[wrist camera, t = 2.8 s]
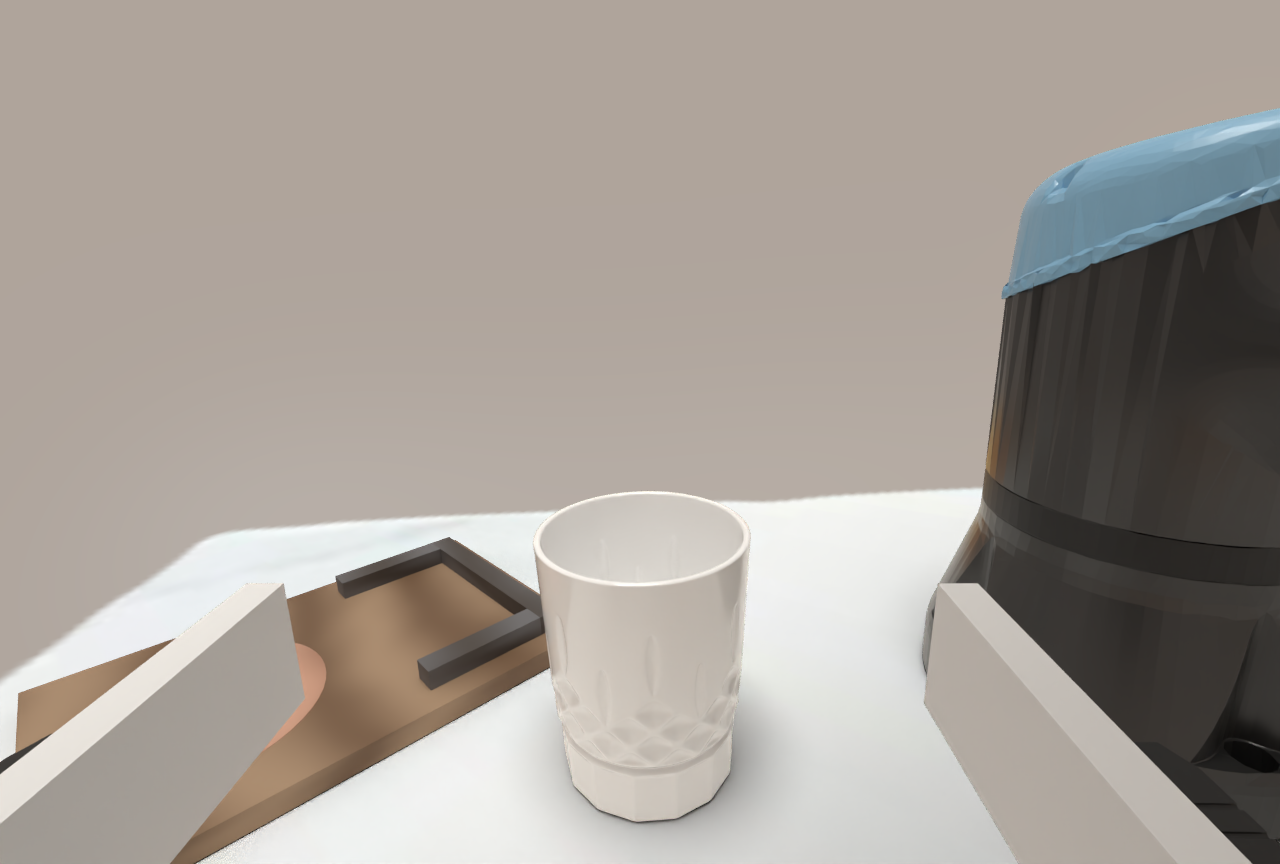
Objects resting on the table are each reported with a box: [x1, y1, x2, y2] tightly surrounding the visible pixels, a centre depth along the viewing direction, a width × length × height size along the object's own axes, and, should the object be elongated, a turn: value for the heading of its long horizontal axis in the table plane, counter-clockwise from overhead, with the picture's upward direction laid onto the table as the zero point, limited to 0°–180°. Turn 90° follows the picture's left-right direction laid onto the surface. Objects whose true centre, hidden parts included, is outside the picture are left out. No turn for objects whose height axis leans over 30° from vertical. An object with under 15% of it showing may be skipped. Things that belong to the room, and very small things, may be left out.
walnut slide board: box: [15, 537, 550, 864], centre depth 31 cm, size 22×15×2 cm
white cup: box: [533, 491, 751, 822], centre depth 24 cm, size 8×8×10 cm
